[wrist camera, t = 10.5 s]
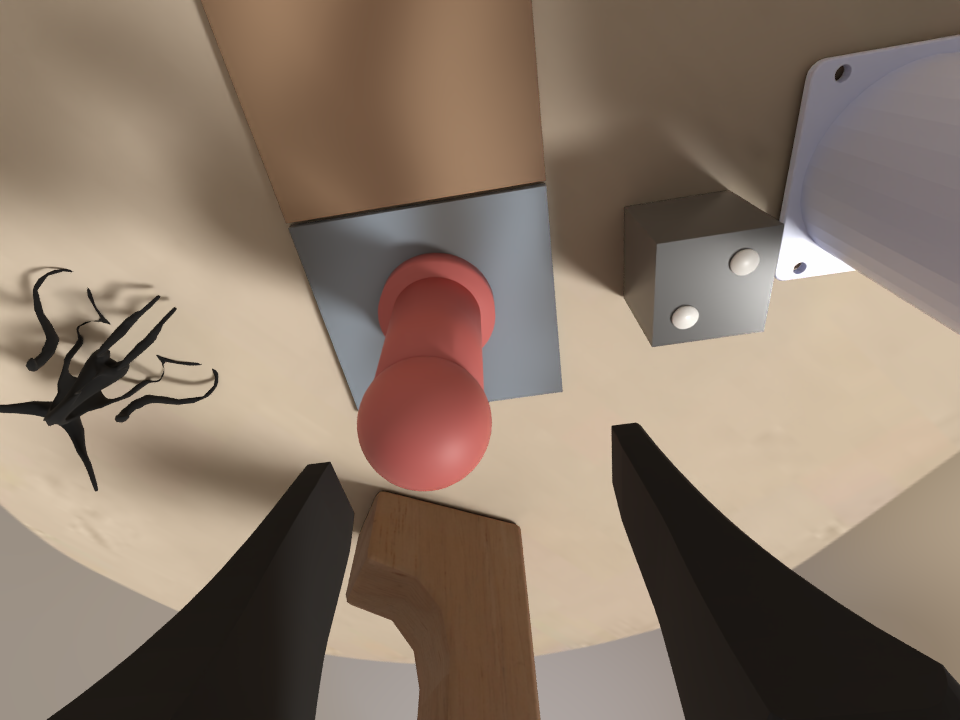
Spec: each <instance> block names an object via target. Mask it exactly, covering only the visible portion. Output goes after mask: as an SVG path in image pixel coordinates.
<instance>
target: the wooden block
mask: <svg viewBox="0 0 960 720" xmlns="http://www.w3.org/2000/svg"><path fill="white" fill-rule="evenodd" d="M346 598H347V602H348V603H349V604H351V605H353V606H356V607H358V608H361V609H364V610H366V611H369V612H371V613H374V614H377V615H379V616H382V617H384V618H387V619H390V620H392V621H393V622H394V624H395V625H396V627H397V628H398V629H399V631H400V632H401V634H402V635H403V637H404V638H405V639H406V641H407V642H408V644H409V645H410V646H411V648H412V649H413V651H414V656H415V662H416V669H417V675H418V682H419V689H420V691H419V704H418V706H419V707H418V718H417V720H540V711H539V701H538V691H537V682H536V673H535V663H534V652H533V643H532V633H531V623H530V614H529V604H528V594H527V585H526V575H525V566H524V557H523V547H522V538H521V529H520V527H519V526H517V525H516V524H512V523H508V522H504V521H500V520H496V519H492V518H488V517H484V516H480V515H476V514H472V513H468V512H464V511H461V510H457V509H453V508H449V507H445V506H441V505H437V504H433V503H429V502H425V501H421V500H417V499H413V498H409V497H405V496H401V495H397V494H393V493H389V492H385V491H382V492H379V493H378V494H377V495H376V497H375V499H374V501H373V504H372V506H371V508H370V510H369V513H368V515H367V517H366V520H365V522H364V524H363V527H362V529H361V531H360V534H359V537H358V541H357V546H356V550H355V555H354V560H353V564H352V569H351V573H350V578H349V583H348V587H347V592H346Z"/></svg>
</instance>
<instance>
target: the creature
mask: <svg viewBox="0 0 960 720" xmlns="http://www.w3.org/2000/svg"><path fill="white" fill-rule="evenodd" d="M62 271H66V272H73V271H71V270H68V269H59V270H54V271H51V272H49V273H47V274H45V275H44V276H42V277H41V278H39V279H38V281H37V282H36V284H35V286H34V288H33V299H34V310H35V312H36V315H37V317H38V319H39V322H40V324H41V326H42V328H43V330H44V333H45V335H46V339H47V340H46V342H45V345H44V346H43V348H42V352H41V353H40V354H39V355H38V356H37V357H36V358H35V359H33V358H31V359H29V360H28V362H27V364H26V367H27V368H28V370H29V371H33V372H34V371H36V370H38V369H39V368H40V367H42V366H43V365H44V364H45V363H46V362H47V361H48V360H49V359H50V358H51V357H52V355H53V354H54V353H55V350H56V348H57V345H58V342H59V337H58V335H57V334H56V332H55V330H54V328H53V326H52V324H51V323H50V321H49V320H48V319H47V317H46V316H45V314H44V313H43V309H42V305H41V302H40V298H39V294H38V289H39V287H40V286H41V284H42V283H43V282H44V280H45V279H46V277H47V276H48V275H52V274H55V273H59V272H62ZM87 288H88V287H87ZM87 293H88V297H89V299H90V301H91V303H92V304H93V306H94V308H95V310H96V311H97V313H98V314H99V316H100V317H101V318H100V319H99V320H98V321H96V322H103V323H107V324H110V323H109V322H108V321H107V320H106V319H105V318H104V317H103V316H102V314H101V313H100V312H99V310H98V309H97V308H96V306H95V304H94V301H93V297H92V294H91V292H90V289H89V288H88V289H87ZM159 298H160V296H159V295H158V296H156V297H155V298H154V299H153V300H152V301H151V302H149V303H148V304H147V305H146V306H145V307H144V308H143V309H142V310H140V311H137V312H135V313H133V314H132V315H131V316H130V317H128V318H126V319H125V320H124V321H123V322H122V324H121V325H120V326H119V327H118V328H117V329H116V330H115V331H114V332H113V333H112V334H111V335H110V336H109V338H108V339H107V340H106V341H105V342H104V343H103V344H102V346H101V347H100V349H98V350H96V351H95V352H94V353H92V355H91V356H90V357H89V359H88V360H87V361H86V363H85V365H84V367H83V368H82V370H81V372H80V374H79V376H78V378H77V377H73V376H72V375H71V374H70V373H69V371H68V368H69V364H70V361H71V359H72V357H73V356H74V355H75V354H76V352H77V351H78V350H79V348H80V347H81V346H82V344H83V338H82V337H81V335H80V333H79V330H78V329H79V327H80V326H82V325H84V324H86V323H88V322H85V323H83V324H81V325H80V326H78V327H77V334H78V340H77V342H76V344H75V345H74V346H73V348H72V349H71V350H70V351H69V352H68V353H67V355H66V357H65V359H64V365H63V369H62V372H61V375H60V378H59V381H58V384H57V385H58V393H57V395H56V397H55V399H54V401H53V402H43V401H32V402H25V403H18V404H9V405H0V413H19V414H30V415H36V416H41V417H45V418H44V420H43V421H46V423H47V424H48V426H51V425H54V424H59V426H61V427H62V428H64V429H65V430H66V432H67V433H68V435H69V436H70V438H71V440H72V442H73V444H74V446H75V449H76V451H77V453H78V454H79V456H80V458H81V459H82V461H83V463H84V465H85V467H86V469H87V471H88V474H89V477H90V480H91V482H92V485H93V488H94V490H95V491H98V486H97V482H96V478H95V475H94V471H93V468H92V464H91V462H90V460H89V458H88V456H87V451H86V447H85V435H84V428H83V425H82V422H81V419H80V416H81V415H83V414H85V413H86V412H88V411H92V410H95V409H99V408H102V407H104V406H107V405H109V404H111V403H114V402H117V401H120V400H122V399H125V398H128V397H130V396H131V395H133V394H134V393H136V392H137V391H138V390H140V389H141V388H142V387H144V386H145V385H147V384H148V383H152V382H158V381H160V380H161V379H159V380H157V381H150V380H146V381H142V382H141V383H139V384H138V385H136V386H135V387H134V388H132V389H131V390H130V391H129V392H127V393H126V394H124V395H123V396H121V397H118V398H115V399H107V398H106V397H105V396H104V395H103V394H102V392H101V390H102V389H104V388H106V387H107V386H109V385H111V384H112V383H114V382H116V381H117V380H119V379H120V378H122V377H123V376H124V375H125V374H126V373H127V371H128V369H129V367H130V365H129V363H130V362H132V361H133V360H134V359H135V358H136V357H137V356H139V355H140V354H141V353H142V352H143V351H144V350H146V349H147V348H148V347H149V346H150V345H151V344H152V343H153V342H154V341H155V340H156V338H157V335H158V334H159V332H160V331H161V328H162V325H163V324H164V323H165V322H166V321H167V320H168V319H169V318H170V316H171V315H172V314H173V313H174V312H175V311H176V309H177V308H175V307H174V308H173V309H172V310H171V311H170V312H169V313H168V314H167V315H166V316H165V317H163V319H162V320H161V321H160V322H159V323H158V324H157V325H156V326H155V327H154V329H153V330H151V331H150V333H149V334H148V335H147V336H146V337H145V338H144V339H143V340H142V341H141V342H139V343H138V344H137V345H136V346H135V347H134V349H133V350H132V351H131V352H130V353H129V354H128V355H127V356H126V357H125V358H124V360H122V361H119V362H116V361H114V360H113V359H111V358H110V351H109V350H108V349H109V348H110V347H111V346H112V345H114V344H115V343H116V342H117V341H118V340H119V339H121V338H122V337H123V336H124V335H125V334H126V333H127V332H128V330H129V329H130V328H131V327H132V325H133V324H134V323H135V322H136V321H137V320H138V319H139V318H140V317H141V316H142V315H143V314H144V313H145V312H146V311H147V310H148V309H150V308H151V307H152V306H153V305H154V304H155V302H156V301H157V300H158V299H159ZM89 322H91V321H89ZM156 356H157V357H158V359H159V360H160V361H161V362H162V365H163V364H164V363H165V362H170V363H176V364H183V365H202V364H199V363H191V362H175V361H172V360H169V359H165V358H163V357H160V356H158V355H156ZM163 368H164V365H163ZM212 370H213V373H214V375H215V382H214V386H213V387H212V388H211V389H210V390H209V391H208V392H207V393H206V394H205V395H204V396H203V397H195V398H186V399H174V398H169V397H164V396H154V395H145V396H143V397H141V398H139V399H136V400H134V401H132V402H131V403H130V404H129V405H128V406H127V407H125V408H124V409H123V410H122V411H121V412H120V413H119V414H118V415H117V416H116V417H115V420H116V422H124V421H126V420H127V419H128V418H129V415H130V414H131V413H132V412H133V411H134V410H136V409H139V408H141V407H143V406H144V405H146V404H150V403H165V404H176V405H180V404H188V403H195V402H197V401H199V400H202V399H204V398H206V397H208V396H209V395H210V394H211V393H212V392H213V391H214V390H215V388H216V387H217V384H218V372H217V371H216V370H214V369H212ZM163 375H164V371H163V374H162V376H161V378H162V377H163Z"/></svg>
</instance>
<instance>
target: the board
mask: <svg viewBox="0 0 960 720" xmlns="http://www.w3.org/2000/svg"><path fill="white" fill-rule="evenodd" d="M201 2H202V5H203V7H204V10H205V13H206V15H207V18H208V20H209V23H210V26H211V28H212V31H213V33H214V36H215V39H216V41H217V44H218V46H219V49H220V52H221V54H222V57H223V59H224V62H225V65H226V67H227V70H228V72H229V75H230V78H231V80H232V83H233V86H234V88H235V91H236V93H237V96H238V99H239V101H240V104H241V106H242V109H243V112H244V114H245V117H246V119H247V122H248V125H249V127H250V130H251V132H252V135H253V138H254V140H255V143H256V145H257V148H258V151H259V153H260V156H261V158H262V161H263V164H264V166H265V169H266V171H267V174H268V177H269V179H270V182H271V184H272V187H273V190H274V192H275V195H276V198H277V200H278V203H279V205H280V208H281V211H282V213H283V216H284V218H285V221H286V223H292V222H298V221H304V220H310V219H316V218H322V217H328V216H334V215H340V214H346V213H352V212H358V211H364V210H370V209H376V208H382V207H388V206H394V205H400V204H407V203H413V202H419V201H425V200H431V199H437V198H443V197H449V196H455V195H461V194H467V193H473V192H479V191H485V190H491V189H497V188H503V187H509V186H515V185H521V184H527V183H533V182H539V181H545V180H546V177H545V164H544V151H543V139H542V126H541V114H540V101H539V89H538V76H537V63H536V51H535V38H534V26H533V13H532V0H201ZM288 229H289V231H290V234H291V237H292V239H293V242H294V244H295V247H296V250H297V252H298V255H299V257H300V260H301V263H302V265H303V268H304V270H305V273H306V276H307V278H308V281H309V283H310V286H311V289H312V291H313V294H314V297H315V299H316V302H317V304H318V307H319V310H320V312H321V315H322V317H323V320H324V323H325V325H326V328H327V330H328V333H329V336H330V338H331V341H332V343H333V346H334V349H335V351H336V354H337V356H338V359H339V362H340V364H341V367H342V369H343V372H344V375H345V377H346V380H347V382H348V385H349V388H350V390H351V393H352V396H353V398H354V401H355V403H356V406H357V409H358V411H359V407H360V403H361V401H362V398H363V396H364V394H365V392H366V390H367V389H368V387H369V386H370V384H371V383H372V381H373V380H374V378H375V374H376V370H377V366H378V363H379V359H380V355H381V352H382V348H383V344H384V341H385V336H384V334H383V332H382V330H381V327H380V323H379V319H378V305H379V301H380V297H381V294H382V291H383V288H384V286H385V283H386V281H387V279H388V277H389V276H390V274H391V273H392V272H393V271H394V270H395V269H396V268H397V267H398V266H399V265H400V264H402V263H403V262H405V261H406V260H408V259H410V258H412V257H415V256H418V255H422V254H426V253H445V254H450V255H454V256H457V257H460V258H462V259H464V260H466V261H468V262H469V263H471V264H472V265H474V266H475V267H476V268H477V269H478V270H479V271H480V272H481V273H482V274H483V275H484V276H485V278H486V279H487V281H488V283H489V284H490V287H491V289H492V292H493V297H494V305H495V324H494V329H493V332H492V334H491V336H490V338H489V340H488V342H487V343H486V344H485V346H484V347H483V348H482V357H483V381H484V392H485V395H486V397H487V399H488V402H490V401H498V400H505V399H512V398H520V397H527V396H535V395H542V394H549V393H557V392H563V390H562V378H561V365H560V353H559V340H558V328H557V315H556V302H555V290H554V277H553V265H552V252H551V239H550V227H549V214H548V202H547V189H546V184H545V183H542V184H536V185H530V186H524V187H518V188H512V189H506V190H500V191H494V192H488V193H482V194H476V195H470V196H464V197H458V198H452V199H446V200H440V201H434V202H428V203H421V204H415V205H409V206H403V207H397V208H391V209H385V210H379V211H373V212H367V213H361V214H355V215H349V216H343V217H337V218H331V219H325V220H319V221H313V222H307V223H301V224H294V225H291V226H290V227H289V228H288Z"/></svg>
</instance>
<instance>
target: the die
mask: <svg viewBox="0 0 960 720" xmlns="http://www.w3.org/2000/svg"><path fill="white" fill-rule="evenodd" d="M784 225H785V224H783V223H781V222H780V221H778V220H777V219H775V218H773V217H772V216H770V215H769V214H767V213H765V212H764V211H762V210H760V209H759V208H757V207H756V206H754V205H752V204H751V203H749V202H748V201H746V200H744V199H743V198H741V197H740V196H738V195H736V194H735V193H733V192H731V191H730V190H727V191H720V192H714V193H708V194H702V195H695V196H689V197H683V198H677V199H670V200H664V201H658V202H652V203H646V204H639V205H633V206H627V207H624V299H625V301H626V303H627V304H628V306H629V308H630V310H631V311H632V313H633V315H634V317H635V318H636V320H637V322H638V323H639V325H640V327H641V329H642V330H643V332H644V334H645V336H646V337H647V339H648V341H649V343H650V344H651V346H652V347H656V346H663V345H671V344H678V343H685V342H692V341H699V340H706V339H714V338H721V337H728V336H735V335H742V334H749V333H757V332H764V328H765V323H766V318H767V313H768V307H769V302H770V297H771V292H772V287H773V282H774V276H775V271H776V266H777V261H778V256H779V250H780V245H781V240H782V235H783V230H784Z"/></svg>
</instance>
